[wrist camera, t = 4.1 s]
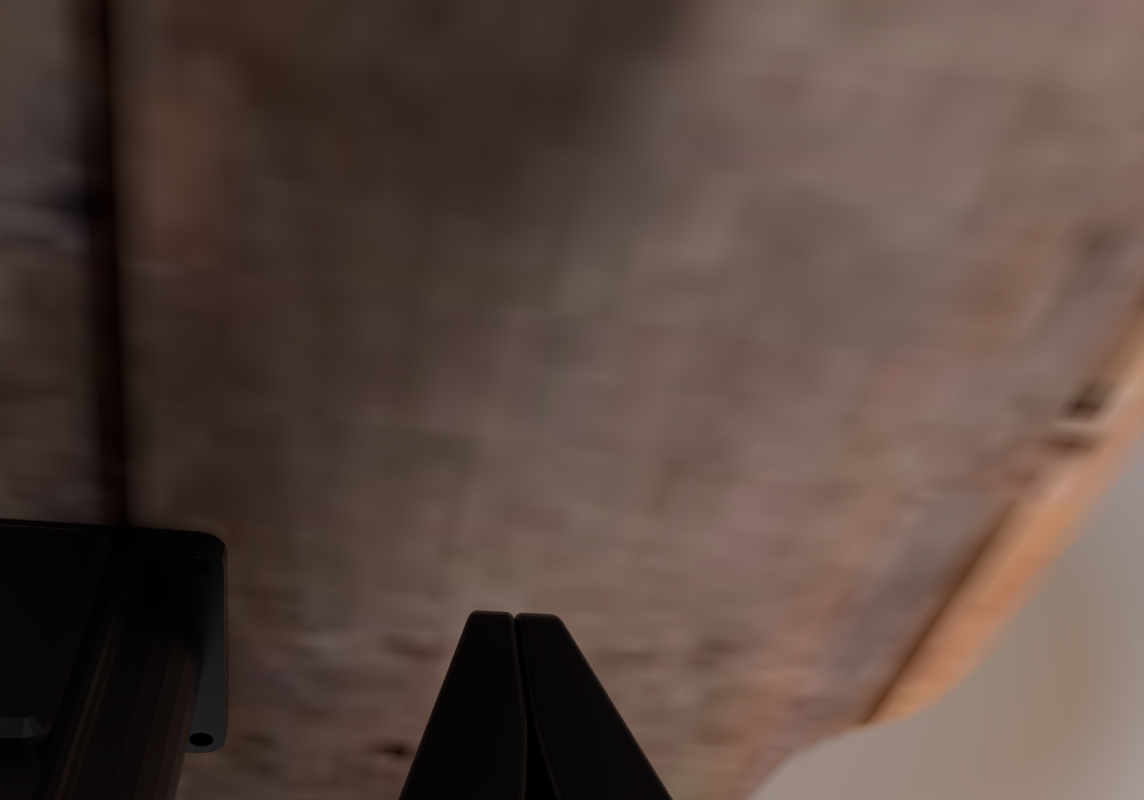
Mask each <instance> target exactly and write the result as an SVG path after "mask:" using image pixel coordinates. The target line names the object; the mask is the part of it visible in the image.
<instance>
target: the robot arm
mask: <svg viewBox="0 0 1144 800" xmlns="http://www.w3.org/2000/svg"><path fill="white" fill-rule="evenodd" d="M195 556H196V557H200V558H203V560H198V559H194V558H192V557H195ZM227 728H228V592H227V549H226V546H225V544H224V543H223V542H222V541H221V540H220V539H219V538H217V537H215V536H213V535H211V534H209V533H204V532H197V531H182V530H166V529H150V528H135V527H119V526H103V525H88V524H72V523H56V522H41V521H25V520H9V519H0V800H175V797H176V792H177V788H178V783H179V778H180V774H181V769H182V765H183V760H184V756H185V752H186V753H206V752H212V751H215V750H218V749H219V748H221V747H222V746H223V745H224V742H225V739H226V733H227ZM398 800H673V799H672V798H671V796H670V795H669V793H668V791H667V790H666V788H665V786H664V785H663V783H662V782H661V780H660V778H659V777H658V775H657V774H656V772H655V770H654V769H653V767H652V765H651V764H650V762H649V761H648V759H647V757H646V756H645V754H644V753H643V751H642V749H641V748H640V746H639V744H638V743H637V741H636V740H635V738H634V736H633V735H632V733H631V731H630V730H629V728H628V727H627V725H626V723H625V722H624V720H623V719H622V717H621V715H620V714H619V712H618V710H617V709H616V707H615V706H614V704H613V702H612V701H611V699H610V698H609V696H608V694H607V693H606V691H605V689H604V688H603V686H602V685H601V683H600V681H599V680H598V678H597V677H596V675H595V673H594V672H593V670H592V668H591V667H590V665H589V664H588V662H587V660H586V659H585V657H584V655H583V654H582V652H581V651H580V649H579V647H578V646H577V644H576V643H575V641H574V639H573V638H572V636H571V634H570V633H569V631H568V630H567V628H566V626H565V625H564V623H563V622H562V620H561V619H560V618H559V617H557V616H555V615H552V614H537V613H519V614H517V615H516V616H515V618H514V617H513V615H512V614H510V613H508V612H499V611H480V610H477V611H473V612H472V613H471V614H470V615H469V617H468V619H467V621H466V624H465V627H464V629H463V632H462V634H461V637H460V640H459V642H458V645H457V648H456V650H455V653H454V655H453V658H452V661H451V663H450V666H449V668H448V671H447V674H446V676H445V679H444V682H443V684H442V687H441V689H440V692H439V695H438V697H437V700H436V703H435V705H434V708H433V710H432V713H431V716H430V718H429V721H428V724H427V726H426V729H425V731H424V734H423V737H422V739H421V742H420V744H419V747H418V750H417V752H416V755H415V758H414V760H413V763H412V765H411V768H410V771H409V773H408V776H407V779H406V781H405V784H404V786H403V789H402V792H401V794H400V797H399V799H398Z"/></svg>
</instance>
